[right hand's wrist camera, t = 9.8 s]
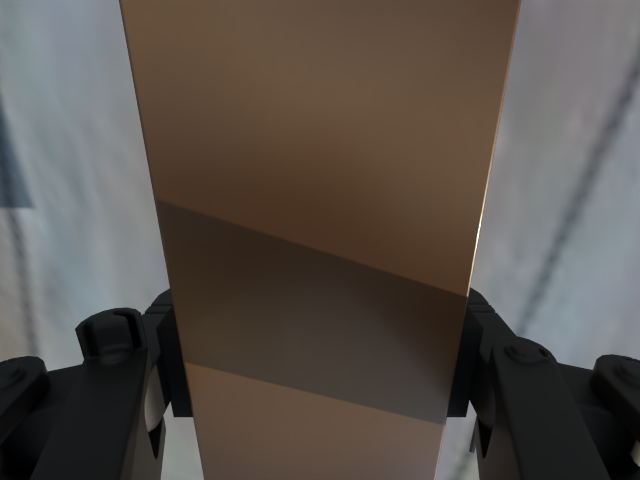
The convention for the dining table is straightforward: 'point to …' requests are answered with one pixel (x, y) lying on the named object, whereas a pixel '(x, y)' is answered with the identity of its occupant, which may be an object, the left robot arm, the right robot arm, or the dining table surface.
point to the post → (320, 218)
